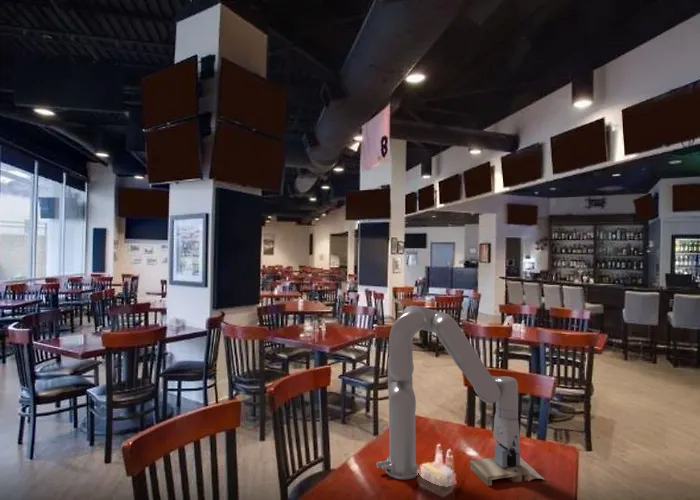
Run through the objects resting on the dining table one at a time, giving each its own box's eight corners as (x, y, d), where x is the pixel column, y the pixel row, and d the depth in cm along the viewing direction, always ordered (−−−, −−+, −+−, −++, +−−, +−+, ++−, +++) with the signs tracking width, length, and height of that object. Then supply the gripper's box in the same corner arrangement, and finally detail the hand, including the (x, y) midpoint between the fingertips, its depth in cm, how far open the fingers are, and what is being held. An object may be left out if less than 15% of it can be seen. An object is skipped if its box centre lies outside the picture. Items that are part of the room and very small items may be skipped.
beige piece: (545, 482, 156) (545, 477, 156) (526, 484, 155) (526, 479, 155) (511, 452, 179) (511, 448, 179) (495, 453, 178) (495, 449, 178)
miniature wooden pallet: (487, 486, 153) (487, 476, 153) (470, 469, 164) (470, 460, 164) (528, 480, 156) (528, 470, 156) (508, 464, 168) (508, 455, 168)
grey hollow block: (502, 467, 158) (502, 450, 158) (494, 461, 163) (494, 444, 163) (519, 465, 160) (519, 448, 160) (511, 459, 164) (511, 442, 164)
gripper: (484, 405, 169) (485, 453, 169) (511, 421, 152) (511, 475, 152) (502, 403, 170) (502, 451, 170) (530, 419, 154) (531, 472, 154)
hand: (507, 461), depth 161 cm, fingers closed on grey hollow block, 4 cm apart
